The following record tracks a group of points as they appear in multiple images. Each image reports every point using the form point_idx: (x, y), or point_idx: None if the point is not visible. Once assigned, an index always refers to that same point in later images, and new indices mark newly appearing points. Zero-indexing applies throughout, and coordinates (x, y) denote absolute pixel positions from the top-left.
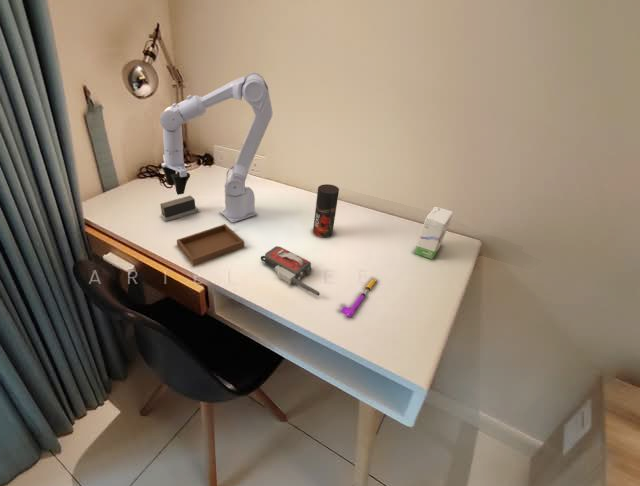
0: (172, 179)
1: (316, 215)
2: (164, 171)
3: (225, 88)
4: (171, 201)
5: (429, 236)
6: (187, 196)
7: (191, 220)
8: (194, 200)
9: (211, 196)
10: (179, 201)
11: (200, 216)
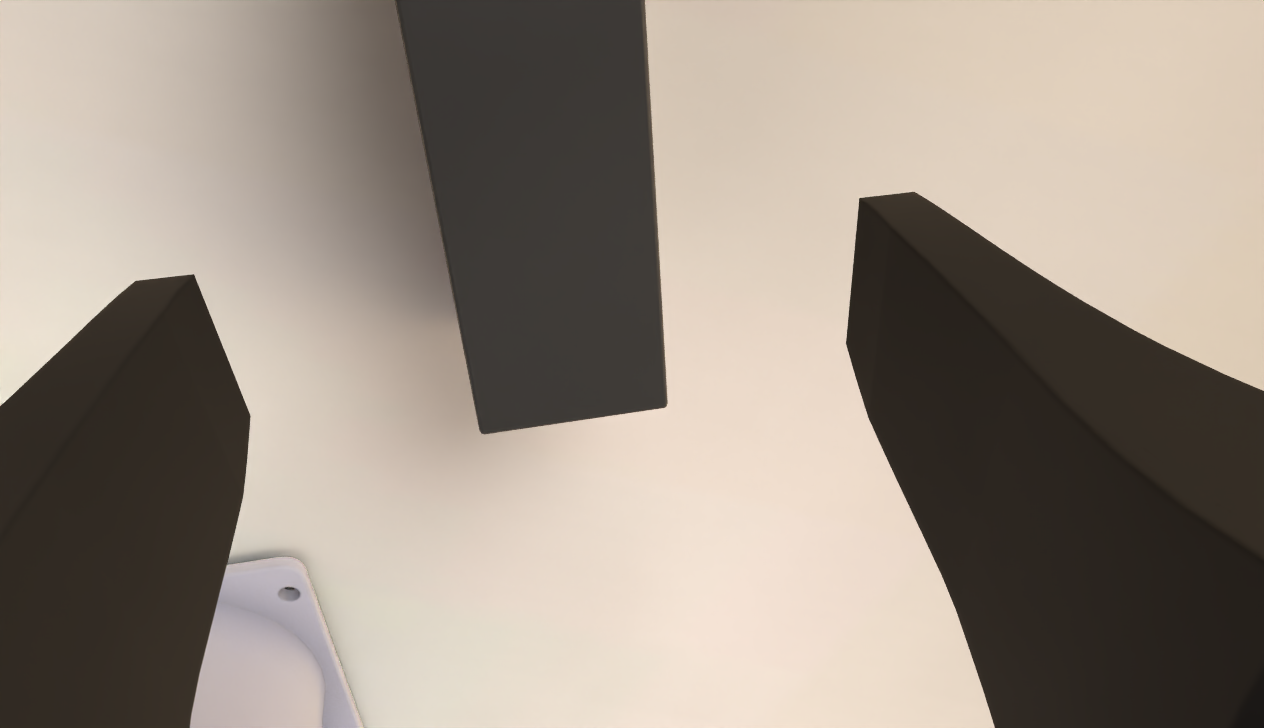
0: (900, 405)
1: None
2: (1152, 443)
3: None
4: (603, 13)
5: None
6: (653, 356)
7: (221, 157)
8: (477, 416)
9: (797, 550)
10: (519, 174)
11: (306, 310)
